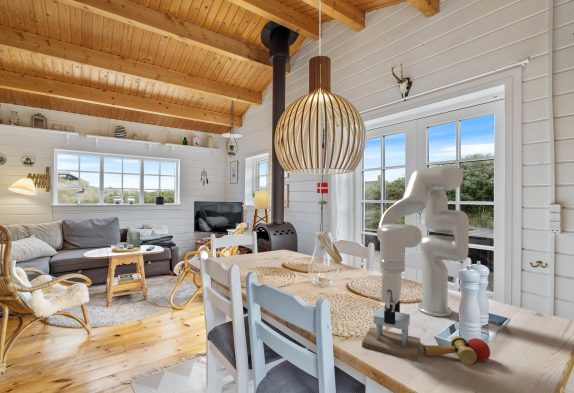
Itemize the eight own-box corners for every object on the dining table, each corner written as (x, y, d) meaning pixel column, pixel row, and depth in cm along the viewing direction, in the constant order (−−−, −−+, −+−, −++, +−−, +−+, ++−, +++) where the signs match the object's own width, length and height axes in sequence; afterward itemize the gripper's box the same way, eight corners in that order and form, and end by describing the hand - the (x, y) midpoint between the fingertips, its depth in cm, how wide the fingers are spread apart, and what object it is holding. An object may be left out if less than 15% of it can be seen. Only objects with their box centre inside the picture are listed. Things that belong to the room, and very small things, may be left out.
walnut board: (370, 331, 103) (370, 327, 103) (420, 342, 95) (420, 338, 95) (361, 346, 92) (361, 342, 92) (416, 360, 85) (416, 355, 85)
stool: (409, 338, 95) (409, 314, 95) (406, 348, 89) (407, 322, 89) (378, 331, 100) (378, 308, 100) (373, 340, 93) (373, 315, 93)
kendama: (431, 368, 83) (498, 365, 81) (427, 345, 84) (493, 340, 82) (423, 358, 91) (484, 355, 89) (419, 337, 92) (479, 333, 90)
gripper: (385, 258, 103) (385, 306, 103) (374, 270, 88) (374, 326, 88) (408, 260, 100) (408, 310, 100) (400, 273, 84) (400, 331, 85)
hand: (392, 317), depth 94 cm, fingers open, 9 cm apart
